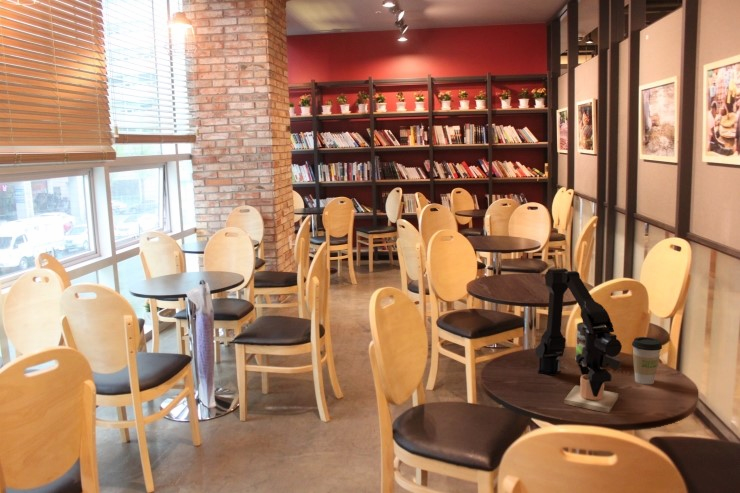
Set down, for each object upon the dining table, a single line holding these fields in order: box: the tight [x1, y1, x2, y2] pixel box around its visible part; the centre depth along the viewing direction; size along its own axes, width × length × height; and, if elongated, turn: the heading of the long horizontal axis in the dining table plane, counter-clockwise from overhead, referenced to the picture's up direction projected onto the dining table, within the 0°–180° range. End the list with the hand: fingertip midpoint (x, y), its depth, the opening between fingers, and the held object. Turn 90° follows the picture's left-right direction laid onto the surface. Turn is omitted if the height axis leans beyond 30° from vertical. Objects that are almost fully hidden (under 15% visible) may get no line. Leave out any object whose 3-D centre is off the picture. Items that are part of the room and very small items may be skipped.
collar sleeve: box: [579, 374, 605, 400], centre depth 211 cm, size 7×7×6 cm
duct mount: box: [563, 380, 619, 414], centre depth 212 cm, size 14×14×6 cm
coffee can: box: [574, 321, 606, 360], centre depth 249 cm, size 10×10×14 cm
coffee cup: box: [631, 336, 663, 385], centre depth 227 cm, size 10×10×15 cm
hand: (591, 391), depth 212 cm, fingers closed on collar sleeve, 7 cm apart
